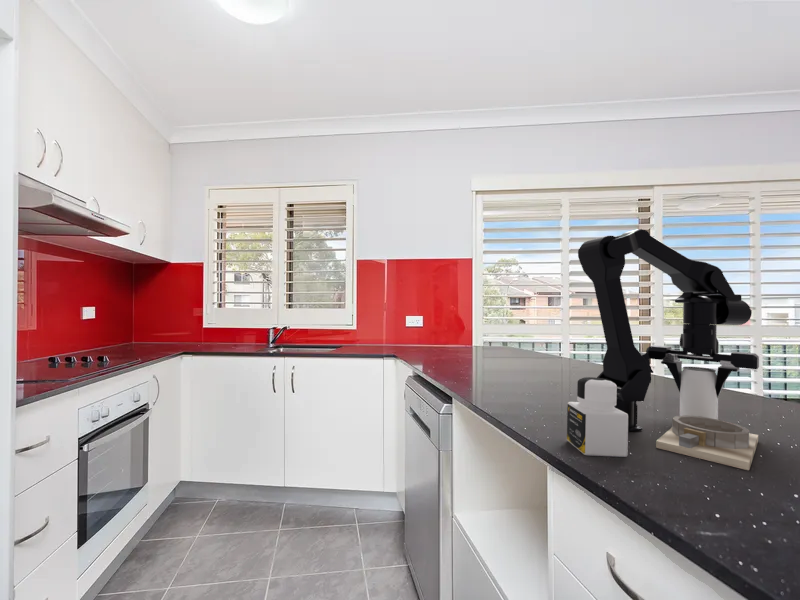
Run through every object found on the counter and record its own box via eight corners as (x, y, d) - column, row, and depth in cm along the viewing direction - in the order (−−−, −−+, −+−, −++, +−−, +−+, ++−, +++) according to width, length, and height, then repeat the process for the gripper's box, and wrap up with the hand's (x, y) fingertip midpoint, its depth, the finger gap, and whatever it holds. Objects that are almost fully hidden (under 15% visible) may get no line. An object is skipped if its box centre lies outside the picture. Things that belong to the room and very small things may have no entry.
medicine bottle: (566, 440, 69) (567, 374, 69) (605, 442, 68) (607, 375, 69) (584, 455, 61) (585, 382, 62) (628, 457, 61) (629, 383, 61)
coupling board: (749, 470, 57) (749, 446, 58) (656, 447, 66) (656, 426, 66) (758, 441, 71) (758, 421, 71) (680, 425, 80) (680, 408, 80)
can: (703, 420, 84) (704, 366, 85) (725, 429, 78) (726, 371, 78) (673, 418, 85) (673, 365, 85) (692, 427, 79) (693, 370, 79)
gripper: (761, 326, 81) (760, 399, 80) (658, 322, 94) (657, 384, 94) (757, 326, 73) (756, 407, 73) (645, 322, 87) (644, 390, 86)
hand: (698, 396), depth 82 cm, fingers closed on can, 6 cm apart
